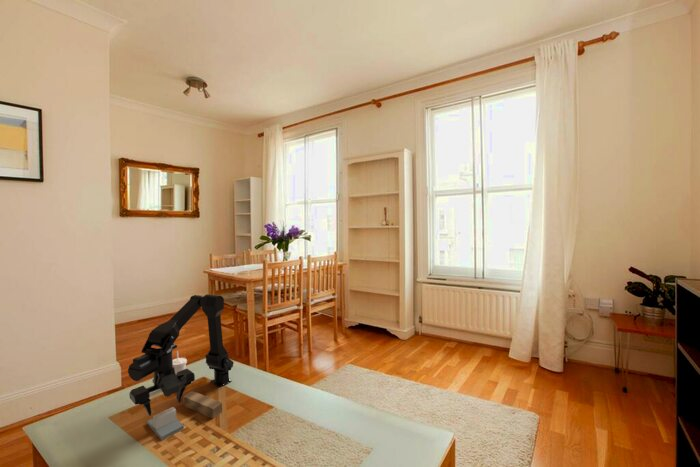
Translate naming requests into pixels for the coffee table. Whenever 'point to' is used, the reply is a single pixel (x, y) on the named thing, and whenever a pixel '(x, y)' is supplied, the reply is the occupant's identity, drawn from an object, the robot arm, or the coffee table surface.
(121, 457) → the coffee table surface
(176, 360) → the smoothie
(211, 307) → the robot arm
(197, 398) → the walnut bar
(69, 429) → the coffee table surface
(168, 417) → the stand
